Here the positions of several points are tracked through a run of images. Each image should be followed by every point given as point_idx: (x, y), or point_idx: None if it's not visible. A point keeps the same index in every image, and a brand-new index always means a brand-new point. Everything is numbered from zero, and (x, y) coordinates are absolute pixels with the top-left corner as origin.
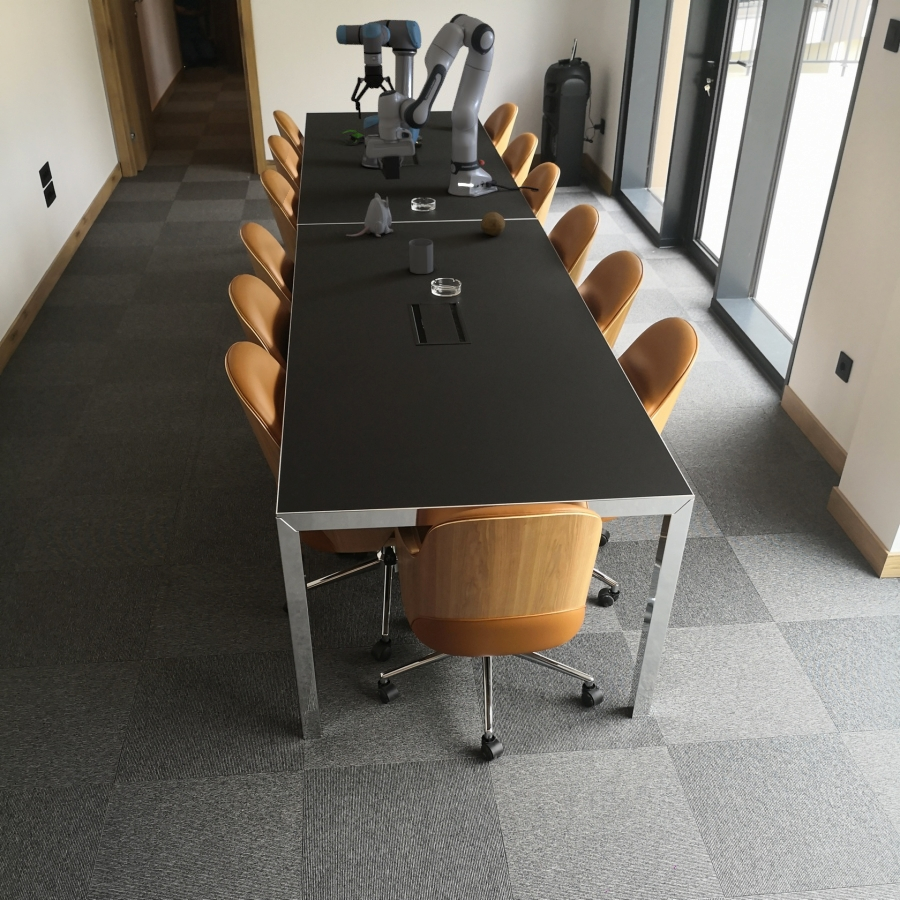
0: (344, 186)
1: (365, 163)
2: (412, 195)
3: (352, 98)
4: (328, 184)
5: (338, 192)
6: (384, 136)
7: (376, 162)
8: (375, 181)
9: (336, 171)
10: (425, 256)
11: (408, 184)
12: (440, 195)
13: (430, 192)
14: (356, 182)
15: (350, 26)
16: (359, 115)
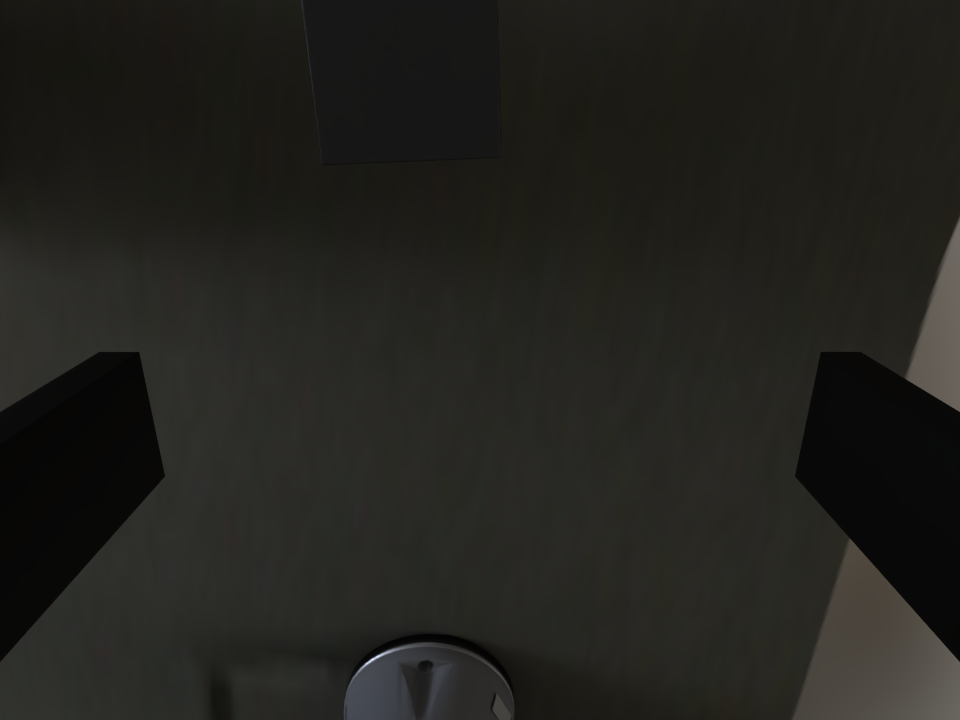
0: (681, 346)
1: (500, 682)
2: (252, 44)
3: None
4: (767, 404)
5: (748, 219)
6: None
7: (439, 669)
8: (476, 416)
9: (666, 629)
10: None
11: (273, 319)
12: (42, 2)
13: (121, 99)
14: (593, 415)
15: None
16: (900, 381)
